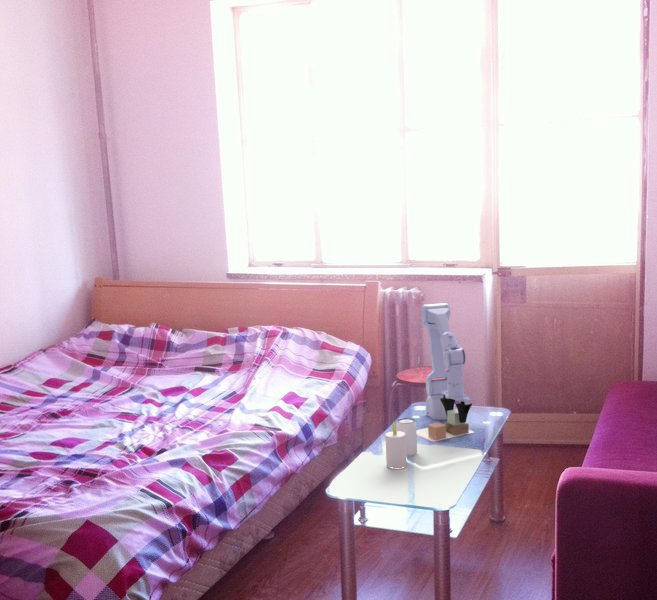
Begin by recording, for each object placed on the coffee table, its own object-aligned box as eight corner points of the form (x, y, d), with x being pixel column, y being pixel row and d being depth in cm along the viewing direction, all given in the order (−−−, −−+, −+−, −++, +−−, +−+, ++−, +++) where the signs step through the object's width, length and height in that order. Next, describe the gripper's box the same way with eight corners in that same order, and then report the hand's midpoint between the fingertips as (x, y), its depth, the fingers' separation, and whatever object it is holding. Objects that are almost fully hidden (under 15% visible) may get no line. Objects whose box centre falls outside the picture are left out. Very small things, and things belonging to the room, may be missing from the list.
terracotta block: (428, 436, 269) (428, 424, 268) (438, 434, 271) (438, 422, 270) (435, 440, 265) (435, 427, 264) (446, 437, 267) (445, 425, 266)
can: (395, 458, 252) (394, 423, 250) (399, 451, 258) (398, 417, 257) (415, 459, 250) (414, 423, 249) (418, 452, 256) (417, 417, 255)
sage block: (457, 420, 275) (457, 408, 275) (465, 423, 271) (464, 411, 271) (447, 422, 273) (447, 410, 273) (455, 425, 269) (454, 413, 269)
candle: (406, 462, 248) (405, 417, 246) (405, 469, 242) (404, 423, 240) (387, 462, 249) (385, 417, 247) (385, 469, 243) (384, 423, 241)
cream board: (410, 434, 276) (410, 431, 276) (451, 425, 284) (451, 422, 284) (432, 444, 264) (432, 441, 263) (475, 434, 272) (475, 432, 271)
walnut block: (444, 431, 274) (444, 422, 274) (458, 428, 277) (458, 419, 276) (454, 435, 269) (454, 426, 268) (468, 432, 271) (468, 423, 271)
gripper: (434, 380, 275) (435, 416, 277) (458, 388, 262) (459, 426, 264) (450, 377, 278) (451, 413, 280) (475, 385, 265) (476, 423, 267)
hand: (456, 419), depth 272 cm, fingers open, 7 cm apart
